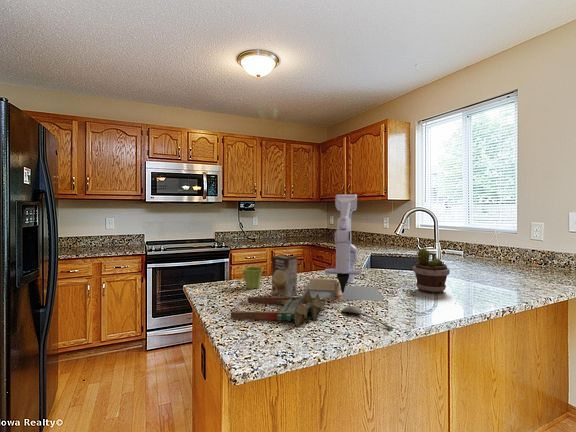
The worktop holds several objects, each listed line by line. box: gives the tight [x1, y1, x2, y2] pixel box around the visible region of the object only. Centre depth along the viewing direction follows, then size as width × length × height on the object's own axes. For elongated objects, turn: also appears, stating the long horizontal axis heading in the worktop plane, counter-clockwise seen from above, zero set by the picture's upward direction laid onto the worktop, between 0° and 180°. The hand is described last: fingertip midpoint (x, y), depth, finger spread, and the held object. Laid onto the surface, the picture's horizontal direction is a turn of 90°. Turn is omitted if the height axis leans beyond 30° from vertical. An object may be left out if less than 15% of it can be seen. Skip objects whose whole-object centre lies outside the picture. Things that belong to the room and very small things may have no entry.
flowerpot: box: [412, 246, 451, 295], centre depth 140 cm, size 14×15×20 cm
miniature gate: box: [230, 290, 326, 328], centre depth 111 cm, size 27×6×30 cm
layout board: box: [302, 277, 386, 302], centre depth 135 cm, size 22×32×6 cm
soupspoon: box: [340, 305, 394, 331], centre depth 104 cm, size 22×3×7 cm
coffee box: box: [271, 254, 298, 297], centre depth 133 cm, size 9×6×16 cm
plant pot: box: [242, 266, 264, 290], centre depth 145 cm, size 9×9×9 cm
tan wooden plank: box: [335, 280, 340, 297], centre depth 132 cm, size 12×1×5 cm, turn 165°
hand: (342, 291), depth 131 cm, fingers closed
